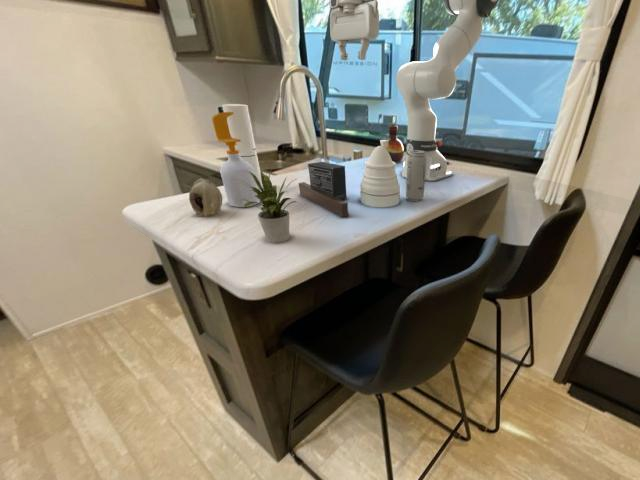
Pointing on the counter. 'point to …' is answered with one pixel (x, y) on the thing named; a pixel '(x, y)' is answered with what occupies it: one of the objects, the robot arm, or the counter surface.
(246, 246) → the counter surface
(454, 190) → the counter surface
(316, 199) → the back rail
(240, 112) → the cylindrical container
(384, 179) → the honey pot
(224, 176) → the spray bottle
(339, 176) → the small box
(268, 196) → the house plant
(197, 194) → the round stone pot
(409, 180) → the energy drink can
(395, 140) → the vase
